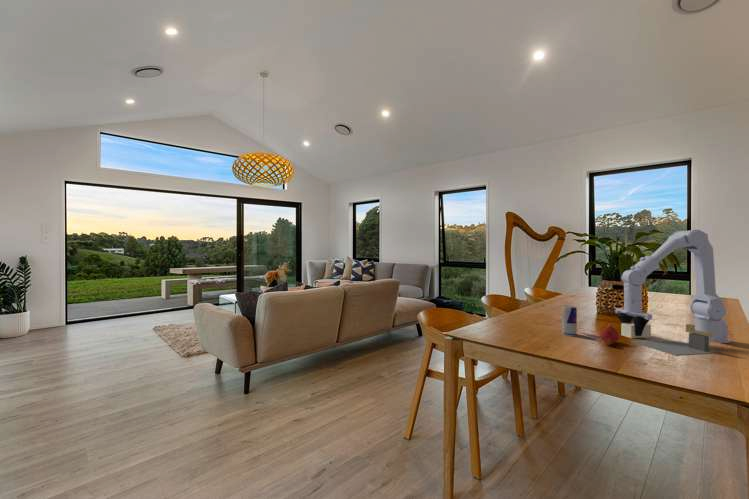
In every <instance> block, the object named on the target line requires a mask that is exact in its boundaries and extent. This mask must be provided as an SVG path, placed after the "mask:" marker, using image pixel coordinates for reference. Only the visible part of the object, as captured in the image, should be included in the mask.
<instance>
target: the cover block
mask: <svg viewBox="0 0 749 499" xmlns="http://www.w3.org/2000/svg"><path fill="white" fill-rule="evenodd" d="M620 323H621V322H620ZM620 326H621V327H620V328H621V330H620V331H621V332H620V333H621V334H620V335H621V336H623V337H625V338H626V337H627V338H628V339H639V338H640V339H643V338H651V337H652V336H651V335H652V334H651V333H652V332H651V331H652V330H651V328H652V324H648V323H647V324H646V325H645V327H644V330H643V332H642V336H636V335H635V326H634V322H631V323H621V325H620Z"/></svg>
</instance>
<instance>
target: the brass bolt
mask: <svg viewBox="0 0 749 499" xmlns="http://www.w3.org/2000/svg"><path fill="white" fill-rule="evenodd" d="M685 332H687V333H695V334H700V335H704V336H708V337H715V334H713V333H708V332H703V331H699V330H695V324H691V323H687V324H685Z"/></svg>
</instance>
